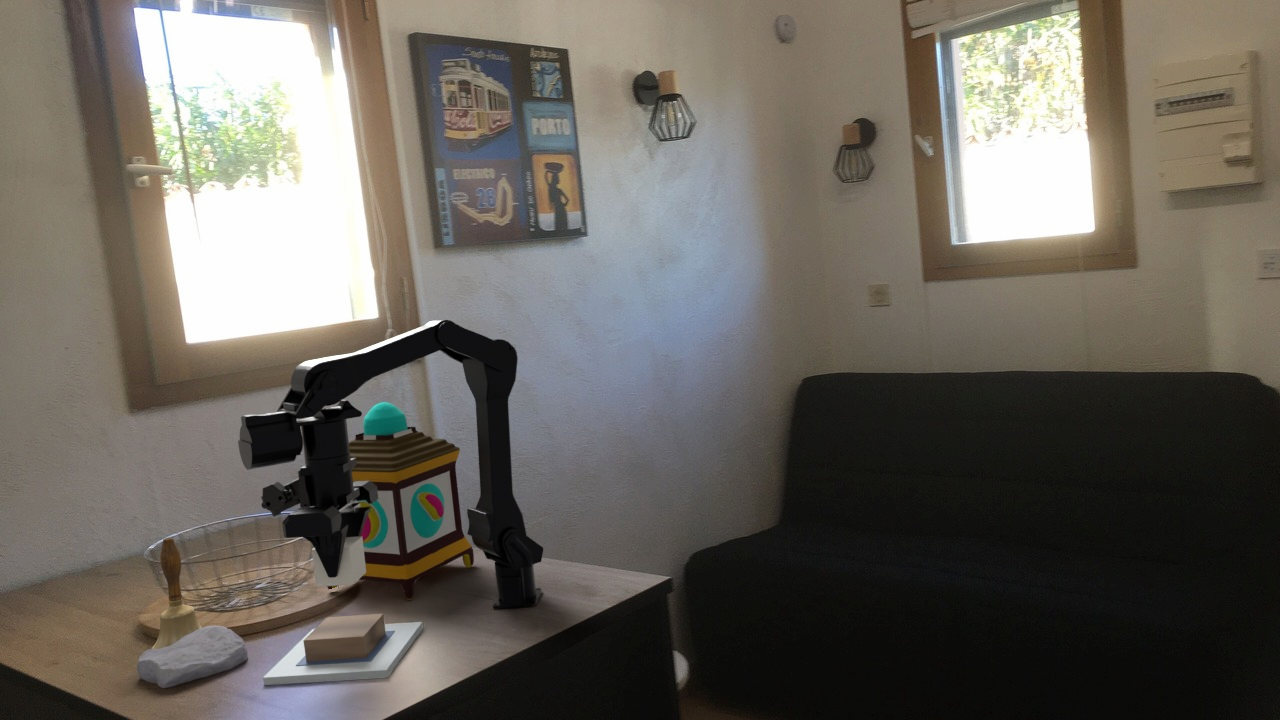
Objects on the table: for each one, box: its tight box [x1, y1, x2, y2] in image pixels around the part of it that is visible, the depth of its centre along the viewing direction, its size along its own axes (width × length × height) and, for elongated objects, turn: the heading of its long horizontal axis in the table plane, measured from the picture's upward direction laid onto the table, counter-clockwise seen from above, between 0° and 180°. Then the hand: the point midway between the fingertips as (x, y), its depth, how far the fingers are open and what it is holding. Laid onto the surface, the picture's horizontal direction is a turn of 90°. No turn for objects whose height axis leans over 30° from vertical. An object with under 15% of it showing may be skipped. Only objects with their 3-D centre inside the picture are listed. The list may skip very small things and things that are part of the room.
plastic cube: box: [311, 536, 366, 588], centre depth 127 cm, size 5×5×5 cm
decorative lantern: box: [326, 401, 475, 601], centre depth 158 cm, size 20×20×30 cm
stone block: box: [136, 625, 249, 689], centre depth 129 cm, size 12×5×10 cm
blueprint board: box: [262, 613, 424, 686], centre depth 129 cm, size 16×16×4 cm
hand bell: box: [151, 537, 203, 649], centre depth 137 cm, size 8×8×16 cm
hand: (340, 570), depth 128 cm, fingers closed on plastic cube, 5 cm apart
